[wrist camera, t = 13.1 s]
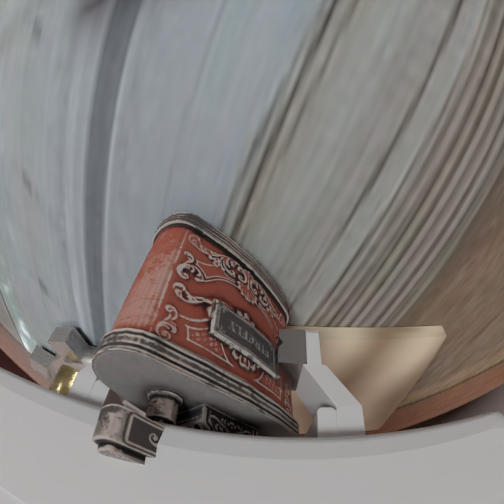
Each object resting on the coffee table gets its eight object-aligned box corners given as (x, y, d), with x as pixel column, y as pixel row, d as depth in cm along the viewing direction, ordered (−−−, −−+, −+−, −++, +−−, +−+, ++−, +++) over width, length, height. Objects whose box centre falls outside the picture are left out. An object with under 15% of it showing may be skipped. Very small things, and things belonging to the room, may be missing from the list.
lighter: (302, 306, 16) (326, 500, 7) (253, 334, 17) (249, 511, 8) (189, 195, 12) (93, 431, 4) (141, 240, 14) (46, 441, 5)
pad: (441, 325, 17) (447, 338, 16) (377, 421, 25) (378, 431, 24) (265, 324, 17) (264, 339, 16) (256, 423, 25) (255, 434, 24)
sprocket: (124, 297, 17) (71, 405, 10) (271, 434, 26) (268, 503, 19) (12, 347, 23) (-20, 400, 16) (133, 442, 32) (120, 489, 25)
